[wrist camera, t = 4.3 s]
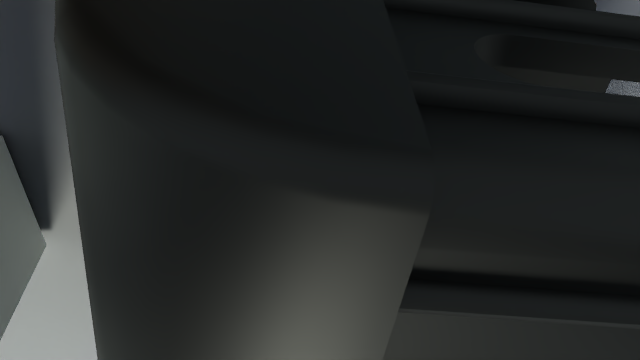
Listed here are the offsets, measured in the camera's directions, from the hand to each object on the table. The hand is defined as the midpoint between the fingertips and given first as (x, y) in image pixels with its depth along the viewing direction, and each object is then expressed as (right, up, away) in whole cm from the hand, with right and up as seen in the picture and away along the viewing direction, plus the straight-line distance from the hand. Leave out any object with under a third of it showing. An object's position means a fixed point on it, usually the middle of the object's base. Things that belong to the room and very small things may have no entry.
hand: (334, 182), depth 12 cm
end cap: (0, 0, 0) cm, 0 cm away
